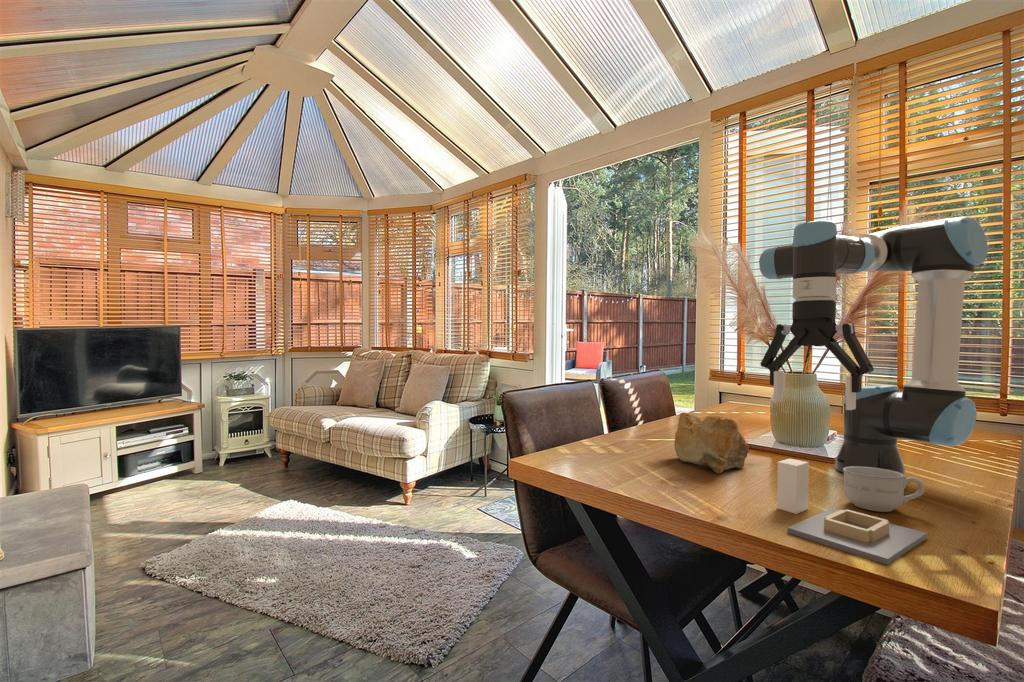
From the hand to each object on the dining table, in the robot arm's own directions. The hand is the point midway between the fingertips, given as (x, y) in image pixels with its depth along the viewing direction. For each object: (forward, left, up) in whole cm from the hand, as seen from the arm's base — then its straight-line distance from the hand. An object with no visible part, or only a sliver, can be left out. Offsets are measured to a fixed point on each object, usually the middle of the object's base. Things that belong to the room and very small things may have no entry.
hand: (812, 405), depth 104 cm
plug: (-2, -5, -23) cm, 23 cm away
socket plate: (+3, +9, -23) cm, 25 cm away
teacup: (-17, +6, -23) cm, 29 cm away
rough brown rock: (-19, -34, -23) cm, 45 cm away
